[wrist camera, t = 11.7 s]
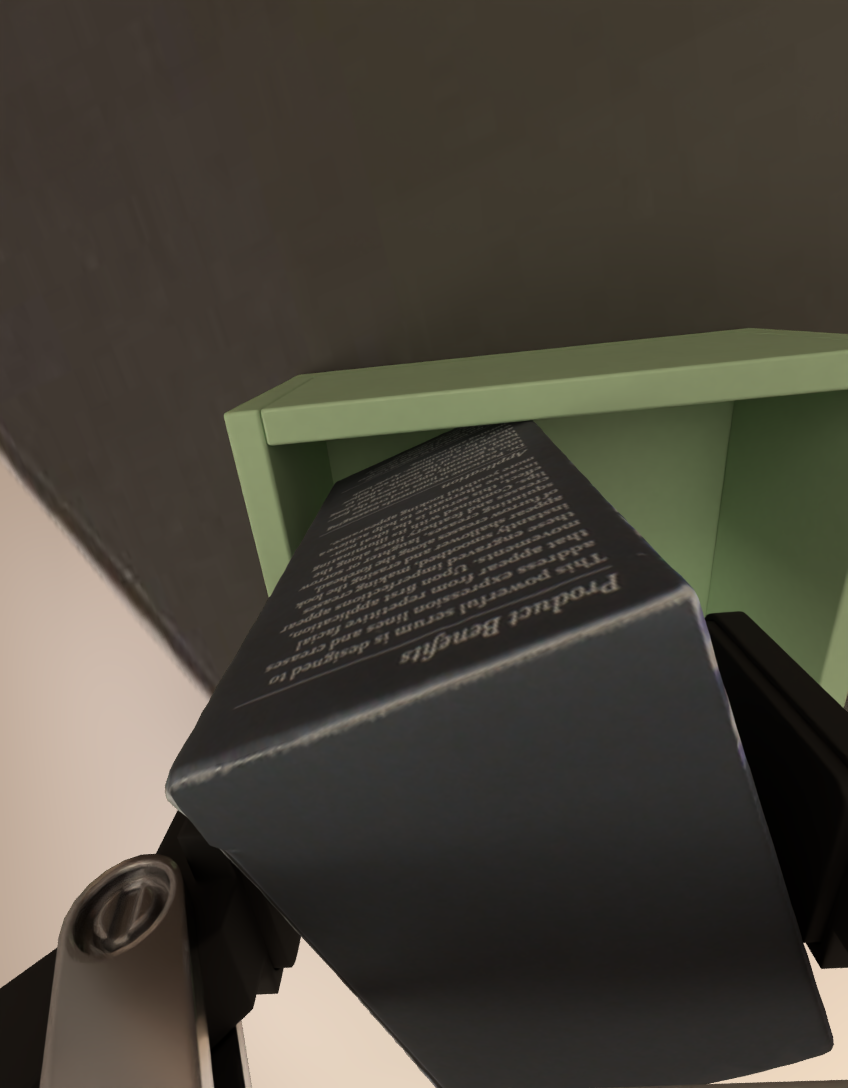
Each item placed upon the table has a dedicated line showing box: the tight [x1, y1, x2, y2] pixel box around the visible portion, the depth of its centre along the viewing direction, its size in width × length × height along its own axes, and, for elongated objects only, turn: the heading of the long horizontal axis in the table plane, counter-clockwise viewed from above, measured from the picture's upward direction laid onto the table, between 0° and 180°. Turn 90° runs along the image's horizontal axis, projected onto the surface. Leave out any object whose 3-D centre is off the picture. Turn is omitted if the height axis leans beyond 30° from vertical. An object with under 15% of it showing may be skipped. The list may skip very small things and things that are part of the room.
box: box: [165, 420, 834, 1088], centre depth 11 cm, size 8×6×11 cm
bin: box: [224, 328, 848, 708], centre depth 17 cm, size 15×15×7 cm
